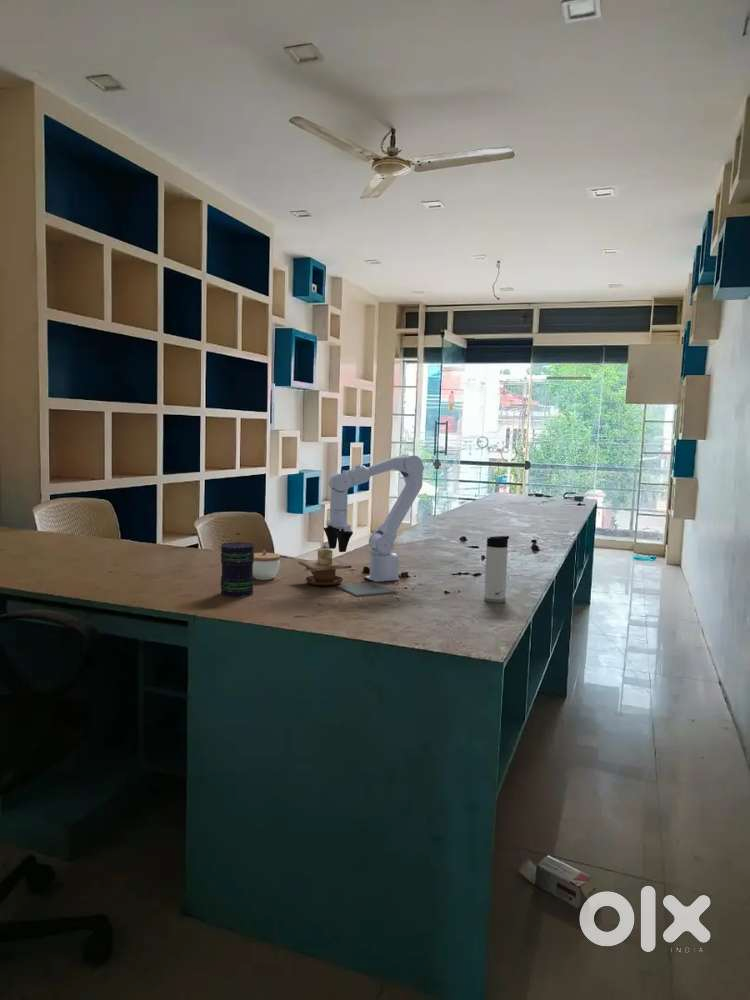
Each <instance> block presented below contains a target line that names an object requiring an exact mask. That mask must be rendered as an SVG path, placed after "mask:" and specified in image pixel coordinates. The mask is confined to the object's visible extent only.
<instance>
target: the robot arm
mask: <svg viewBox="0 0 750 1000" xmlns="http://www.w3.org/2000/svg"><path fill="white" fill-rule="evenodd" d="M392 470H393V471H394V470H395V471H399V473H400V474H401V475H402V476H403V479H404V480H403V481H404V482H405V485H404V487H403V489H402V490H401V492H400V494H399V495H398V497H397V499H396V501H395V502H394V504H393V506H392V507H391V509H390V511H389V513H388V515H387V516H386V518H385V519H384V522H383V523H382V524H381V525H380V526H379V527H378V528H377V530H376V531H375V532H373V533H372V534H371V535H369V538H368V544H369V547H370V548H371V550H370V557H369V559H370V560H369V562H370V563H369V575H365V576H364V578H366V579H367V580H371V581H372V582H377V583H379V582H388V581H390V582H391V581H400V578H399V575H400V573H399V571H400V570H399V569H400V559H399V555H398V554H396V553H395V552H393V549H394V546H395V541H396V539H397V533H398V532H397V531H398V529H399V528H400V526H401V524H402V523H403V521H404V519H405V517H406V516H407V514H408V513H409V511H410V508H411V506H412V505H413V503H414V502H415V500H416V497H417V496H418V494H419V493H420V492H421V490H422V487H423V478H424V477H423V475H424V474H423V473H424V470H425V466H424V463H423V461H422V459H421V457H419V456H418V455H408V454H402V455H398V456H394V457H390V458H388V459H386V460H383V461H380V462H378V463H377V462H376V463H374V464H373V465H370V466H368V467H367V466H365V465H364V464H363V465H360V464H357V465H355V466H354V468H351V469H348V470H346V469H345V470H342V471H341V473H333V474H332V476H330V478H329V481H328V485H329V487H330V498H329V499H330V500H329V501H330V502H329V504H330V505H329V519H327V520H326V524H325V525H326V527H323V531H324V532H325V535H326V539H327V542H328V549H329V550H332V549H336V548H337V545H338V552H339V553H346V552H347V550H348V549H347V548H348V545H349V541H350V539H351V537H352V535H353V534H354V532H353V530H352V529H351V527H352V526H351V524H349V523H348V499H349V498H348V497H349V495H348V492H349V491H348V490H349V489H350V488H353V487H356V486H358V485H362V484H365V483H367V482H369V481H370V478H371V477H373V476H376V475H379V474H382V473H385V472H388V471H392Z"/></svg>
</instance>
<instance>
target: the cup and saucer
mask: <svg viewBox="0 0 750 1000" xmlns="http://www.w3.org/2000/svg"><path fill="white" fill-rule="evenodd" d="M336 570H337V569H332V570H319V571H314V570H312V569H310V572H311V574H312V575H310V576H307V577H305V580H306V582H307V583H308V584H311V585H314V586H319V587H320V586H321V587H330V586H337V585H340V583H342V581H343V580H344V578H343V577H341V576H338V575H336V574H337V573H336Z"/></svg>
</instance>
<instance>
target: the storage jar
mask: <svg viewBox="0 0 750 1000" xmlns="http://www.w3.org/2000/svg"><path fill="white" fill-rule="evenodd" d="M235 535H237V536H239V535H241V534H240V532H237V533H235ZM220 545H221V546H220V548H221V550H220V558H221V559H220V563H221V576H220V589H221V590H220V595H221V596H223V597H226V598H245V597H250V596H253V595H254V590H253V589H254V585H255V584H254V583H255V581H254V576H253V563H254V558H253V557H254V553H255V552H254V550H255V549H254V547H255V546H254V543H250V542H240V541H238V542H226V543H222V544H220Z"/></svg>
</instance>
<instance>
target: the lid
mask: <svg viewBox="0 0 750 1000" xmlns="http://www.w3.org/2000/svg"><path fill="white" fill-rule="evenodd" d="M298 564H299V565H300V566H303V567H305V568H307V569H309V570H311V569H312V570H314V571H319V570H332V569H336V570H345V569H352V565H351V564H348V563H346V562H343V561H341V560H339V559H335V558H333V550H332V549H330V548H323V549H321V548H320V549H317V559H313V560H299V561H298Z"/></svg>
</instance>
